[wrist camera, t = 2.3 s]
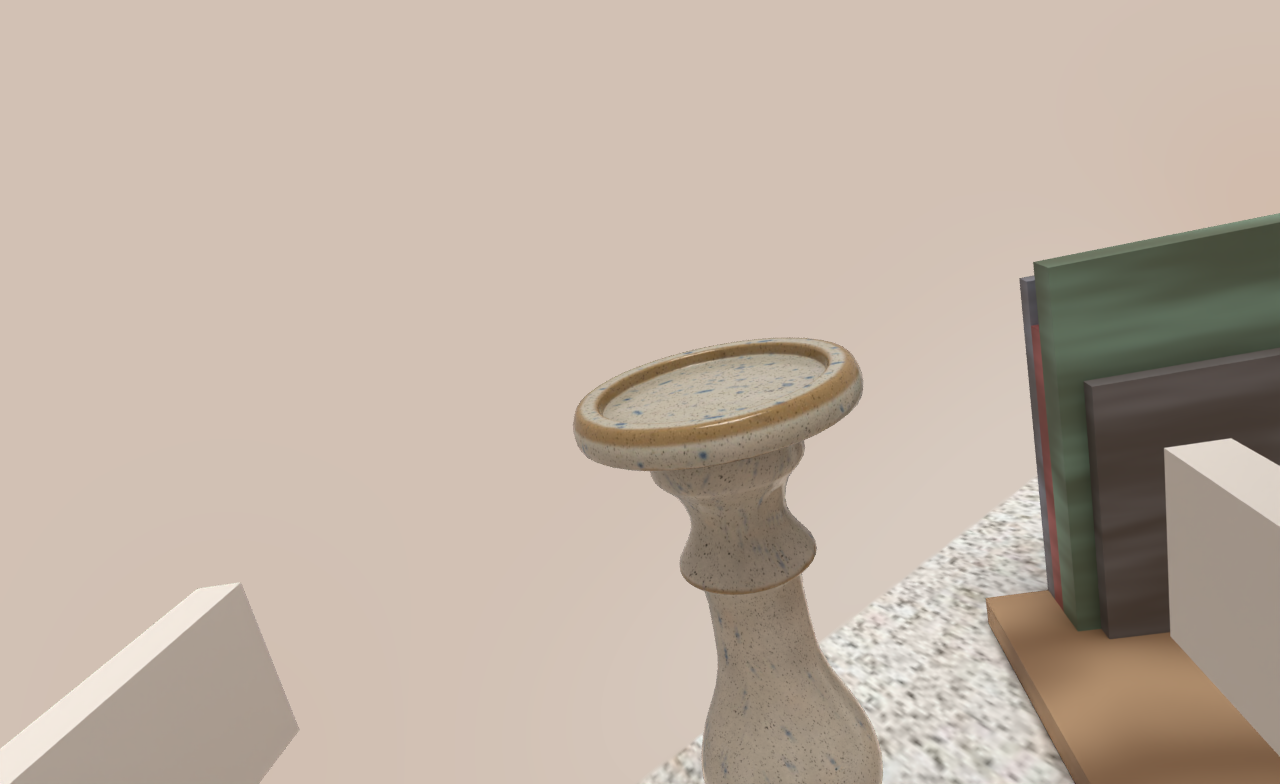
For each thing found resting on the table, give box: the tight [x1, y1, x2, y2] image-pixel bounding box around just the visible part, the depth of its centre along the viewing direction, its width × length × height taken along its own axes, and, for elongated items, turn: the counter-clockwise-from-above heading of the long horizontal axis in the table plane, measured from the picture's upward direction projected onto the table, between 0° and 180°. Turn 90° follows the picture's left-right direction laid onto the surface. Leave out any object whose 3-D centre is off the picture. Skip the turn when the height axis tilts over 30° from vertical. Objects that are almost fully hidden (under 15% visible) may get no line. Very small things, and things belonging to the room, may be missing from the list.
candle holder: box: [573, 338, 883, 784], centre depth 23 cm, size 9×9×20 cm
